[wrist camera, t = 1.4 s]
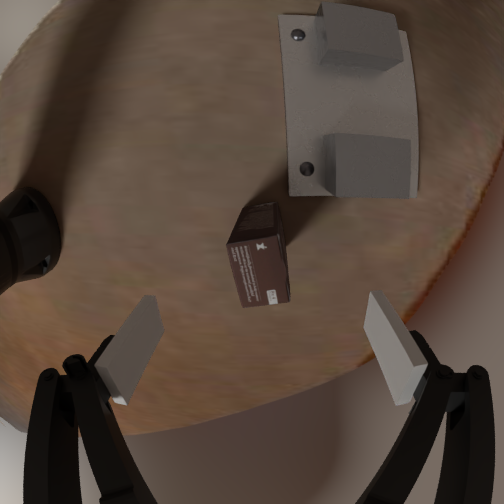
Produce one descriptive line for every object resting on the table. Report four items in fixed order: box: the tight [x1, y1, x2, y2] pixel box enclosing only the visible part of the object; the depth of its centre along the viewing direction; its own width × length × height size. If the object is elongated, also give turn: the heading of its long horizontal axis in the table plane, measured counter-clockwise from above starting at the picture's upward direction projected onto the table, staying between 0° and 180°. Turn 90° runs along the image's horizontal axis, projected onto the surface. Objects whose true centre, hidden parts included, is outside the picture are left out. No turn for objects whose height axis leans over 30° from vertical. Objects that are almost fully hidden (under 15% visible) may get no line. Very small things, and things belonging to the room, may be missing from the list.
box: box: [226, 202, 290, 308], centre depth 27 cm, size 6×4×12 cm
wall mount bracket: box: [278, 2, 419, 199], centre depth 23 cm, size 16×22×6 cm
